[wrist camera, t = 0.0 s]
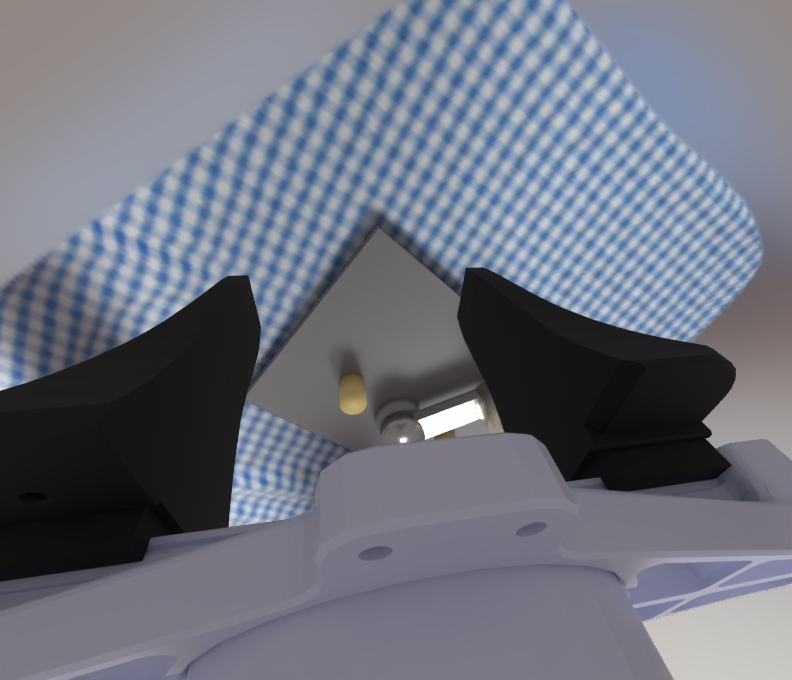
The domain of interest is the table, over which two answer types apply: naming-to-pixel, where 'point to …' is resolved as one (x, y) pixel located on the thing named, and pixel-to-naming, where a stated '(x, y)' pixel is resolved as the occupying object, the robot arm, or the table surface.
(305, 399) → the base
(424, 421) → the crank
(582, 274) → the table surface
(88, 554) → the robot arm
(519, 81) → the table surface
